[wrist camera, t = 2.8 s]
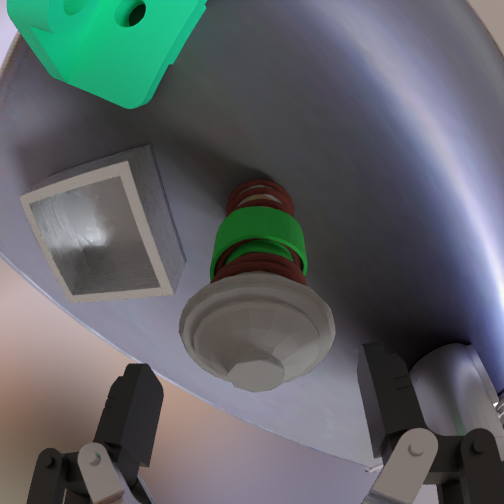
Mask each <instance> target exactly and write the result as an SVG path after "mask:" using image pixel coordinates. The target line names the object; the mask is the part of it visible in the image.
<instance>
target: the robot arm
mask: <svg viewBox="0 0 504 504" xmlns="http://www.w3.org/2000/svg"><path fill="white" fill-rule="evenodd" d="M357 375H358V383H359V387H360V392H361V396H362V401H363V405H364V410H365V415H366V419H367V424H368V429H369V434H370V439H371V445H372V450H373V455H374V458H379V457H382V460H383V465H384V467H383V468H382V470H381V472H380V474H379V475H378V477H377V479H376V480H375V482H374V484H373V485H372V487H371V488H370V490H369V492H368V493H367V495H366V496H365V498H364V500H363V501H362V503H361V504H412V503H413V501H414V500H415V498H416V496H417V494H418V492H419V490H420V488H421V486H422V484H426V485H428V484H436V486H437V492H438V500H439V504H504V430H503V427H502V424H501V422H500V419H499V417H498V414H497V412H496V409H495V407H496V406H497V404H498V402H499V399H498V396H497V394H496V392H495V389H494V387H493V385H492V383H491V381H490V379H489V377H488V374H487V372H486V370H485V368H484V366H483V364H482V362H481V360H480V358H479V356H478V354H477V352H476V351H475V349H474V347H473V345H468V346H466V345H463V344H460V343H453V344H448V345H444V346H442V347H439V348H437V349H435V350H433V351H431V352H430V353H428V354H427V355H425V356H424V357H423V358H421V359H420V360H419V361H418V362H417V363H416V364H415V365H414V366H413V368H412V369H411V370H410V372H408V369H407V367H406V364H405V362H404V361H403V360H402V359H401V358H400V357H399V356H398V355H397V353H392V354H387V355H386V353H385V350H384V347H383V345H382V343H381V341H377V342H372V343H367V344H361V345H360V350H359V359H358V367H357ZM163 397H164V393H163V387H162V385H161V383H160V382H159V380H158V379H157V377H156V376H155V374H154V372H153V371H152V369H151V368H150V366H149V365H148V364H128V365H127V367H126V369H125V372H124V375H123V376H119V377H118V378H117V379H116V381H115V382H114V383H113V385H112V386H111V388H110V391H109V394H108V399H107V400H106V403H105V408H104V409H103V412H102V415H101V418H100V422H99V425H98V428H97V431H96V434H95V438H94V440H93V442H92V443H89V444H87V445H85V446H84V447H83V448H82V449H81V450H80V452H73V453H66V454H62V453H60V452H59V451H57V450H56V449H54V448H47V449H45V450H43V451H42V452H41V453H40V455H39V456H38V459H37V463H36V466H35V470H34V474H33V478H32V482H31V486H30V490H29V495H28V499H27V504H62V502H63V496H64V491H65V488H66V489H67V492H66V497H65V503H64V504H156V503H155V501H154V499H153V497H152V496H151V494H150V492H149V491H148V489H147V487H146V485H145V483H144V482H143V480H142V478H141V476H140V474H139V473H138V470H139V466H142V467H149V464H150V459H151V454H152V449H153V445H154V439H155V434H156V430H157V424H158V420H159V416H160V411H161V406H162V402H163Z"/></svg>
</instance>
